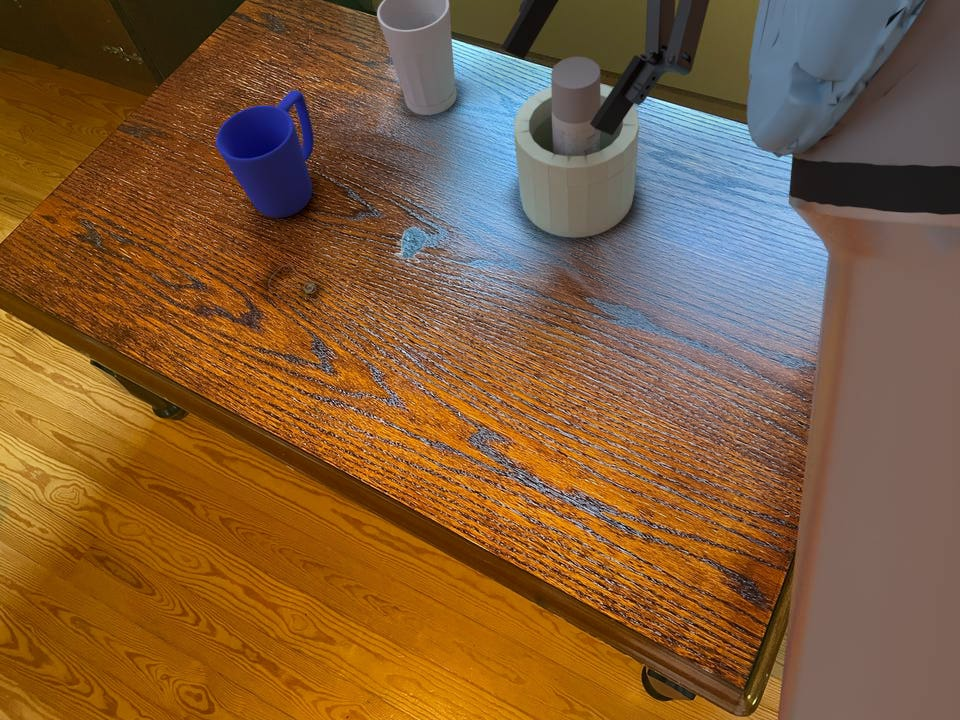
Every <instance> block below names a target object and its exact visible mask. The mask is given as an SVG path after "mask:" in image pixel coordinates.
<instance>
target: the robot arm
mask: <svg viewBox="0 0 960 720" xmlns="http://www.w3.org/2000/svg"><path fill="white" fill-rule="evenodd" d="M558 2H559V0H522V1H521V3H520V5H519V9H518V12H519V13H520V14H519V15H518V16H517V19H516V20H515V22H514V24H513V26H512V27H511V29H510V31H509V32H508V34H507V36H506V38H505V39H504V41H503V43H502V44H501V48H502V49H503V50H504V51H505V52H507V53H509V54H511V55H513V56H515V57H517V58H520V59H522V60H525V58H526V57H527V55H528V53H529V51H530V50H531V48H532V46H533V45H534V43H535V41H536V40H537V38H538V36H539V35H540V33H541V31H542V30H543V28H544V26H545V24H546V23H547V21H548V19H549V18H550V16H551V14H552V13H553V11H554V9H555V7H556V6H557V4H558ZM709 4H710V0H678V3H677V8H676V0H646V21H645V22H646V23H645V45H644V53H641V54H639V55H636V54H634V56H633V57H632V58H631V60H630V62H629V63H628V65H627V66H626V68H625V70H624V71H623V73H622V74H621V75H620V77H619V78H618V80H617V81H616V82H615V85H614V86H613V87H612V88H613V89H612V91H611V92H610V94H609V95H608V97H607V98H606V100H605V101H604V103H603V104H602V106H601V107H600V109H599V110H598V112H597V114H596V115H595V117H594V118H593V120H592V121H591V123H590V125H592V126H593V127H594V128H595V129H598V130H600V131H602V132H605V133H607V134H610V135H613V134H614V132H615V131H616V129H617V128H618V126H619V125H620V123H621V122H622V121H623V119H624V118H625V116H626V115H627V113H628V112H629V110H630V109H631V107H632V106H633V105H637V106H640V105H642V104H643V103H644V102H645V100H647V97H648V96H649V94H650V93H651V91H652V90H653V89H654V87H655V86H656V84H657V83H658V82H659V80H660V78H661V77H662V76H663V75H664V74H666V73H674V74H679V75H681V76H687V75H689V74H690V73H691V72H692V70H693V66H694V62H695V58H696V54H697V51H698V47H699V43H700V38H701V35H702V31H703V28H704V23H705V19H706V15H707V12H708V8H709ZM748 80H749V82H750V83H749V87H748V95H747V101H746V120H747V128H748V133H749V136H750V139H751V141H752V142H753V143H754V144H755V145H756V146H757V148H759V149H761V150H763V151H766V152H769V153H772V154H773V155H775V156H776V157H777V158H778V159H780V158H781V157H783V156H789V155H791V156H792V157H791V166H790V167H791V169H790V177H789V178H790V180H789V191H788V205H789V206H790V207H791V208H792V209H793V211H794V212H795V213H796V214H797V215H798V216H799V217H800V218H801V219H802V221H804V222H805V223H806V225H807V226H808V227H809V228H810V229H811V230H812V231H813V233H814V234H815V235H816V236H817V237H818V238H819V239H820V240H821V242H822V243H823V246H824V247H825V249H826V252H827V261H826V262H827V263H826V272H825V280H824V291H823V298H822V299H823V300H822V301H823V302H822V308H821V317H820V326H819V334H818V335H819V336H818V337H819V338H818V346H817V355H816V363H815V364H816V365H815V373H814V382H813V389H812V390H813V391H812V400H811V408H810V418H809V427H808V437H807V447H806V456H805V465H804V475H803V482H802V483H803V484H802V492H801V501H800V511H799V519H798V520H799V521H798V529H797V538H796V546H795V547H796V548H795V555H794V566H793V574H792V575H793V576H792V584H791V593H790V603H789V610H788V611H789V612H788V621H787V629H786V638H785V639H786V640H785V648H784V658H783V666H782V676H781V685H780V693H779V703H778V711H777V720H960V0H759V3H758V10H757V14H756V20H755V25H754V30H753V38H752V43H751V50H750V57H749V70H748Z"/></svg>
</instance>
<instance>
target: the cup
mask: <svg viewBox="0 0 960 720" xmlns="http://www.w3.org/2000/svg"><path fill="white" fill-rule="evenodd" d="M376 16H377V21H378V24H379V26H380V29H381V32H382V35H383V37H384V40H385V43H386V46H387V47H388V51H389V54H390V58H391V61H392V64H393V66H394V70H395V71H396V75H397V79H398V81H399V84H400V87H401V90H402V93H403V97H404V101H405V105H406V107H407V108H408V109H409V110H410V111H411V112H412V113H415V114H416V115H422V116H432V115H438V114H441V113H443V112H445V111H447V110H449V108H451V107H452V106H453V105H454V104H455V102H456V101H457V96H458V91H457V86H456V78H455V77H456V75H455V65H454V63H455V62H454V52H453V41H452V25H451V24H452V23H451V10H450V0H382V1H381V3H379V6H378V8H377V11H376Z"/></svg>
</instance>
